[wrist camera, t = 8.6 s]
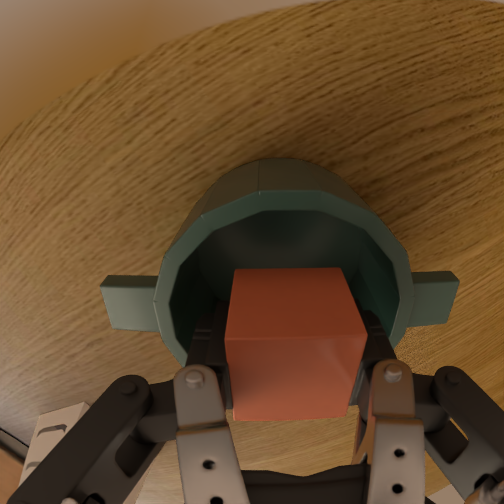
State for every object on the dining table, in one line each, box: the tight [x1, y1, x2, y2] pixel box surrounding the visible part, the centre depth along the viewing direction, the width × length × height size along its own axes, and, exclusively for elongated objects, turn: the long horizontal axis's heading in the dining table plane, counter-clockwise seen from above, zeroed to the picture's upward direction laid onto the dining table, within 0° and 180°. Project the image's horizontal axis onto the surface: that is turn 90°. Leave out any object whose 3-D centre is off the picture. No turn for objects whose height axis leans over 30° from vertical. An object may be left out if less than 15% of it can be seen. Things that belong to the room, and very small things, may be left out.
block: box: [224, 267, 368, 421], centre depth 11 cm, size 4×4×4 cm
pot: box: [100, 158, 460, 367], centre depth 15 cm, size 10×16×6 cm, turn 91°
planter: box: [0, 430, 29, 504], centre depth 30 cm, size 25×25×19 cm
